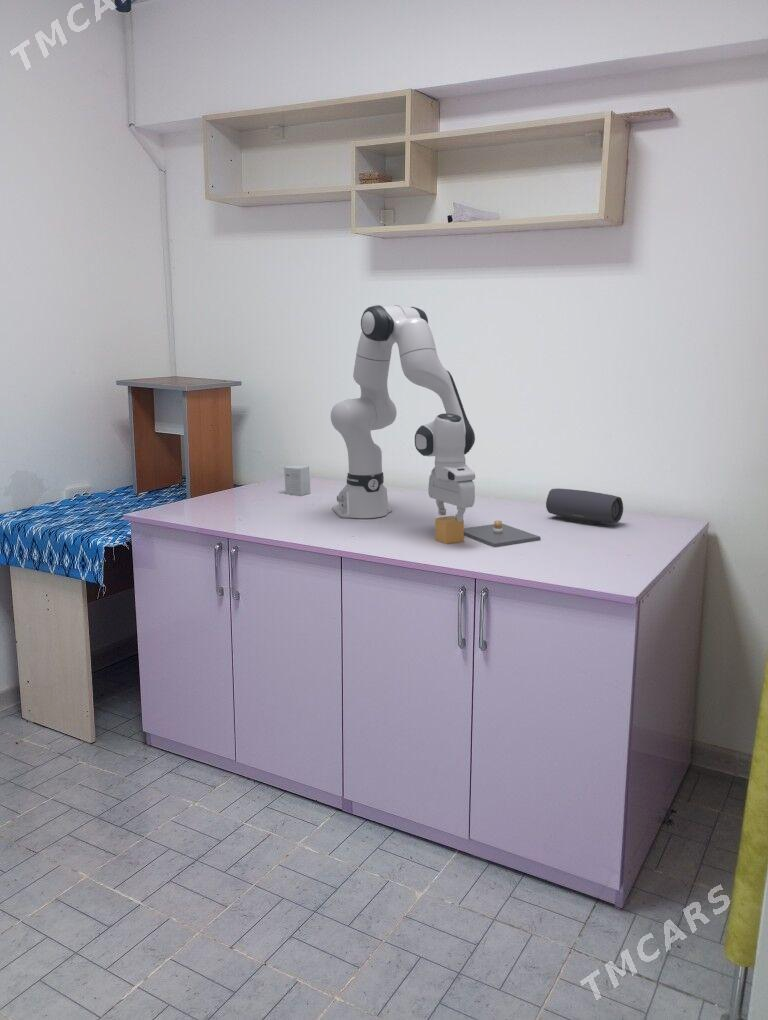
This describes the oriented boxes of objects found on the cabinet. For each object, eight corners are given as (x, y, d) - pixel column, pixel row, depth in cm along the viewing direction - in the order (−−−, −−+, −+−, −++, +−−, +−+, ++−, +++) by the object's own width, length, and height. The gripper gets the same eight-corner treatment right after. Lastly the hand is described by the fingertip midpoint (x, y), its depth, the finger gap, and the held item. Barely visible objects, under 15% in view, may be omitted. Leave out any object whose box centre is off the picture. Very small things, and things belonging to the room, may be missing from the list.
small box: (310, 493, 317) (309, 466, 315) (301, 496, 312) (300, 468, 310) (294, 491, 321) (293, 464, 319) (285, 494, 316) (283, 466, 314)
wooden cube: (435, 539, 245) (435, 518, 243) (452, 536, 247) (452, 515, 246) (445, 544, 240) (445, 522, 238) (463, 541, 242) (463, 519, 241)
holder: (457, 532, 253) (457, 518, 252) (501, 526, 260) (501, 512, 259) (494, 547, 235) (494, 531, 234) (540, 540, 242) (540, 525, 241)
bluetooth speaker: (623, 524, 260) (625, 492, 258) (609, 529, 253) (611, 497, 251) (559, 514, 275) (560, 484, 273) (544, 519, 268) (545, 489, 266)
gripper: (422, 467, 247) (423, 512, 250) (459, 476, 229) (459, 525, 232) (441, 465, 250) (441, 510, 252) (478, 474, 232) (478, 522, 234)
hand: (450, 517), depth 242 cm, fingers open, 8 cm apart
